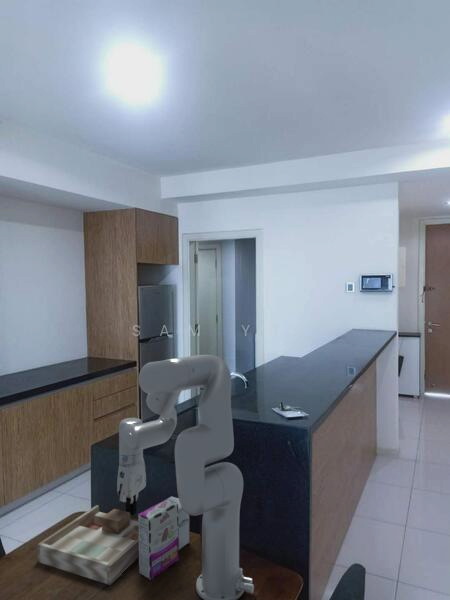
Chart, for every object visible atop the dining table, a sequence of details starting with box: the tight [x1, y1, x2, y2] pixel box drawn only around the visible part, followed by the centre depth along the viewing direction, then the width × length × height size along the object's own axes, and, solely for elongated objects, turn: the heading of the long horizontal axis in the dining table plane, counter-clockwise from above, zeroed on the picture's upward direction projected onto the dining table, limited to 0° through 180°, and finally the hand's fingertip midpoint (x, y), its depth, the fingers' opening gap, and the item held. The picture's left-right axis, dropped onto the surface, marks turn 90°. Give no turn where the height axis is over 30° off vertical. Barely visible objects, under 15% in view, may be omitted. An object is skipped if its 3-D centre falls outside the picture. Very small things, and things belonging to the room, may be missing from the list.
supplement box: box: [167, 496, 190, 550], centre depth 133 cm, size 7×7×13 cm
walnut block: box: [102, 508, 131, 535], centre depth 137 cm, size 6×6×4 cm
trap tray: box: [37, 504, 139, 586], centre depth 131 cm, size 25×25×5 cm
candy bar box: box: [137, 498, 180, 581], centre depth 123 cm, size 11×5×16 cm, turn 143°
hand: (131, 513), depth 145 cm, fingers closed
